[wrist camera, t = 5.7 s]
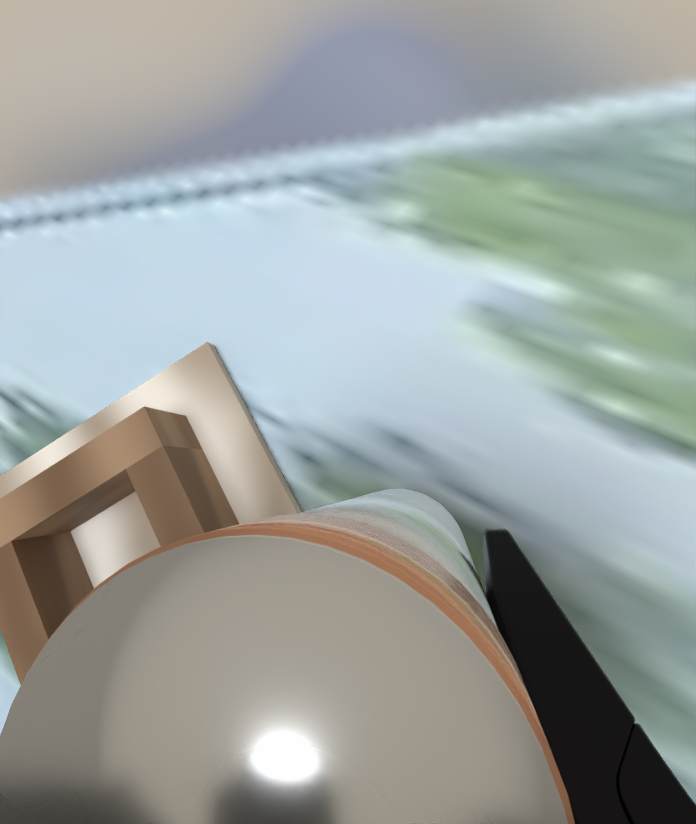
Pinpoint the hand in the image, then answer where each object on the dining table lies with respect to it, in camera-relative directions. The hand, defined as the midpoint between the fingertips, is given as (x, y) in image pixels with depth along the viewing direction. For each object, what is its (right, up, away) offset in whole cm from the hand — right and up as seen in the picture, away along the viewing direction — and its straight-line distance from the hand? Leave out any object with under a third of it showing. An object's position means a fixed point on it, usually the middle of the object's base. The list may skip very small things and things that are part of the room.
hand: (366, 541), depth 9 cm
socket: (-10, -5, +15) cm, 19 cm away
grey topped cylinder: (+1, -2, +6) cm, 7 cm away
